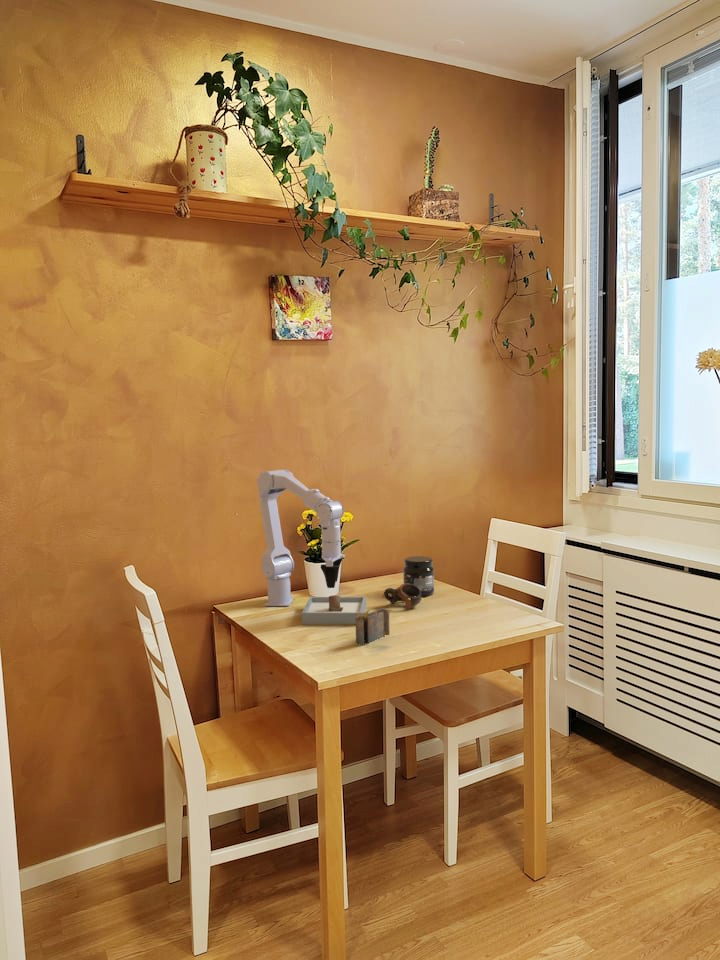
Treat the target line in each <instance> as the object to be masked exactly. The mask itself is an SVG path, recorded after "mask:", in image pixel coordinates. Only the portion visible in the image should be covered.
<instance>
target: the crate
mask: <svg viewBox="0 0 720 960" xmlns="http://www.w3.org/2000/svg"><path fill="white" fill-rule="evenodd" d="M366 610H367V597H366V596H340V612H329V596H309V598H308V600H307V602H306V604H305V606H304V608H303V610H302V612H301V625H302V626H304V625H305V626H309V625H310V626H311V625H313V626H315V625H316V626H317V625H320V626H321V625H322V626H323V625H324V626H326V625H328V626H329V625H331V626H333V625H334V626H335V625H339V626H341V625H342V626H343V625H344V626H345V625H348V626H350V624H351V626H352V625H353V626H355V625H354V624H356V618H357V615H358V614H362V613H364V612H366Z"/></svg>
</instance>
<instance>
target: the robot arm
mask: <svg viewBox="0 0 720 960" xmlns="http://www.w3.org/2000/svg"><path fill="white" fill-rule="evenodd" d="M256 482H257V488H258V500H259V506H260V512H261V518H262V525H263V530H264V537H265V543H266V550H265V551H264V552H263V553H262V555H261V560H262V561H261V571H262V574H263V575H264V576H265V578H266V579H267V580H266V581H267V601H266V603H265V605H264V606H265V607H289V606H291V604H292V602H293V600H294V598H295V597H293V596H292V595H291V593H292V592H291V579H290V576H292V572H293V571H294V568H295V561H294V559H293V557H292V555H291V551H290V550H289V549H288V548H287V547H286V546H284V545H285V544H284V541H283V540H284V539H283V533H282V526H281V520H280V514H279V507H278V503H277V499H278V497H279V496H280V494H281V493H283V492H285V490H287V491H290V492H291V493H293V494H295V495H296V496H298V497H299V498H301V499H302V501H303V504H304V505H305V506H306V507H308V508H309V509H311V510H312V511H313V512H314V513H316V515H317V518H318V520H319V525H320V527H321V552H322V553H321V559H322V560H323V561H324V562H325V564H323V563H322V564H321V565H320V569H321V571H322V573H323V575H324V578H325V584H326V588H327V589H334V588H335V587H336V582H338V578H339V573H340V572H339V571H340V566H341V564H342V561H343V558H345V557H346V555H345V553H343V554H342V546H341V545H342V543H341V541H342V540H341V519H342V518H343V516H344V514H345V509H344V505H343V504H342V503H341V501H339V500H332V499H331V498H330V497H328V496H326V495H324V494H323V493H321V492H320V491H321V490H319V488H310V489H309V488H308V487H307V486H306V485H304V484H303V483H302V482H301V481H299V480H298V479H297V478H296V477H295V476H294V473H293V472H291V471H289V470H288V469H286V468H281V469H275V470H265V471H262V472H260V474H259V476H258V477H257V478H256Z"/></svg>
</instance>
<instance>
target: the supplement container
mask: <svg viewBox="0 0 720 960" xmlns="http://www.w3.org/2000/svg"><path fill="white" fill-rule="evenodd" d="M403 561H404V563H403V564H404V567H403V568H402V572H403V584H405V583H409V584H413V585H415V586H417V587H418V588H419V589H420V590H421V596H424V597H429V596H431V595H432V594H434V593H435V576H434V575H435V568H434V566H433V563H434V562H433V558H432V557H430V556H424V555H414V556H407V557H405V558H404V560H403ZM404 593H405V594H406V595H407V596H408V597H409V596H410V597H414V596H418V592H416V591H413V589H412V588H410V587H409V589H408V590H405V592H404ZM428 595H429V596H428Z"/></svg>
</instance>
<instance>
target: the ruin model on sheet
mask: <svg viewBox="0 0 720 960" xmlns="http://www.w3.org/2000/svg"><path fill="white" fill-rule="evenodd" d="M385 635H388V636H390V635H391V634H390V610H389V609H386V608H379V609H377V610H374V611H371V612H370V610H367V611H365V612H364V613H362V614H358V615H357V618H356V625H355V644H356V643H357V644H356V645H359V644H360V646H363V645H364V646H365V641H364V640H366V641H367V644H371V643H373V642H376V641H378V640H381V639H383V638H385ZM382 637H383V638H382ZM380 638H381V639H380ZM367 639H368V640H367ZM377 639H378V640H377ZM375 640H376V641H375ZM370 642H371V643H370Z"/></svg>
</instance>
